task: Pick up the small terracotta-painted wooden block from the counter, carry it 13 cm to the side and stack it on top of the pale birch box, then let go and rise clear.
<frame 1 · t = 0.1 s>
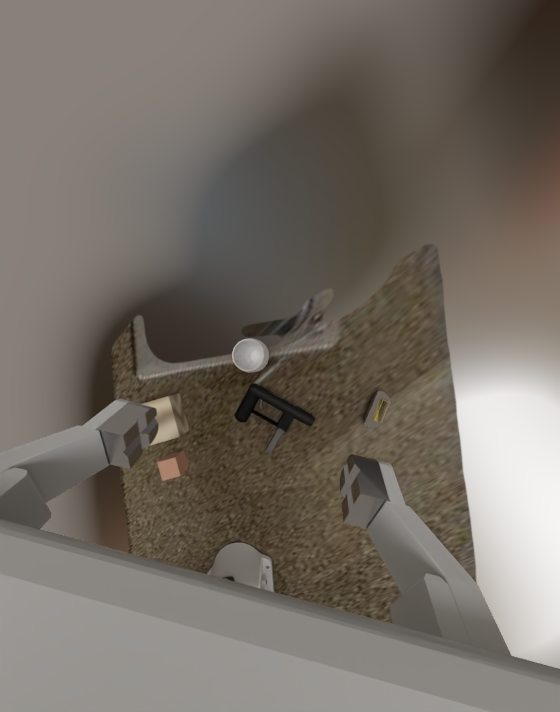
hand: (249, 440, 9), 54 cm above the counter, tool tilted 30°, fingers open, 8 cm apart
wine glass: (261, 356, 64), on the counter
black clamp: (271, 419, 64), on the counter
terracotta block: (178, 460, 64), on the counter
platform: (371, 406, 63), on the counter
birch box: (166, 416, 65), on the counter
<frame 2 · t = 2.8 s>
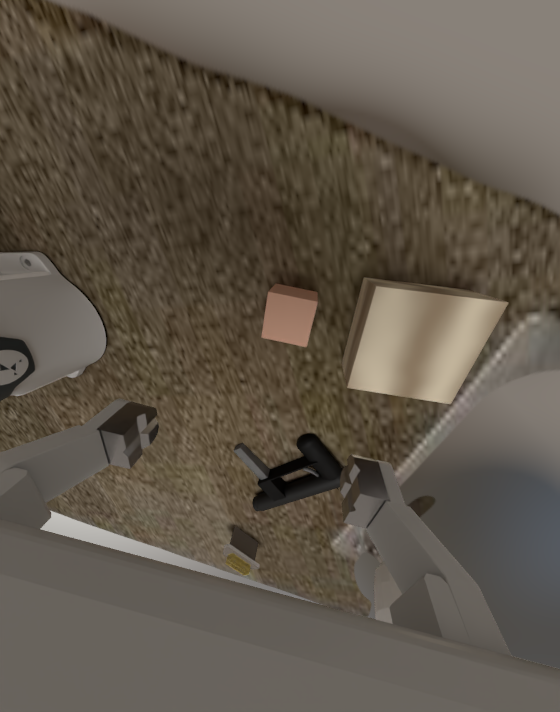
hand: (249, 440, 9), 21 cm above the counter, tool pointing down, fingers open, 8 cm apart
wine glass: (376, 495, 41), on the counter
black clamp: (281, 462, 42), on the counter
terracotta block: (292, 308, 28), on the counter
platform: (245, 532, 55), on the counter
birch box: (397, 329, 27), on the counter
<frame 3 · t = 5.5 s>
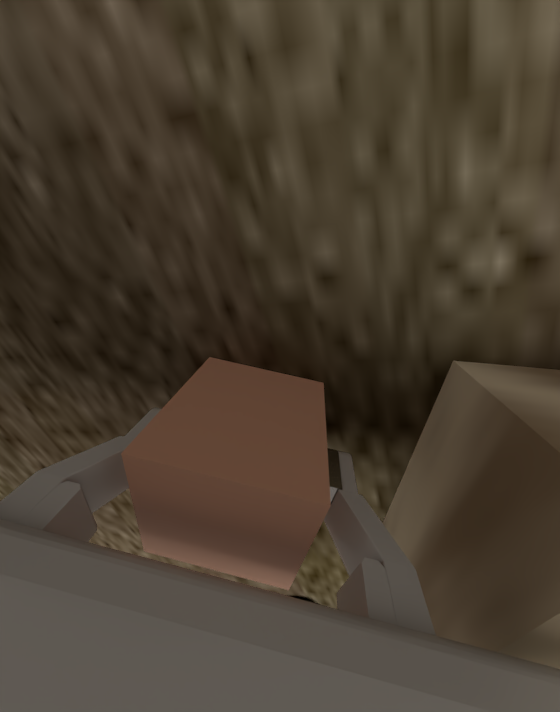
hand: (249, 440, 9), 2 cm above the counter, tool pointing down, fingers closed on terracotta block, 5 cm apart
terracotta block: (258, 413, 11), on the counter, touching gripper
birch box: (532, 473, 10), on the counter
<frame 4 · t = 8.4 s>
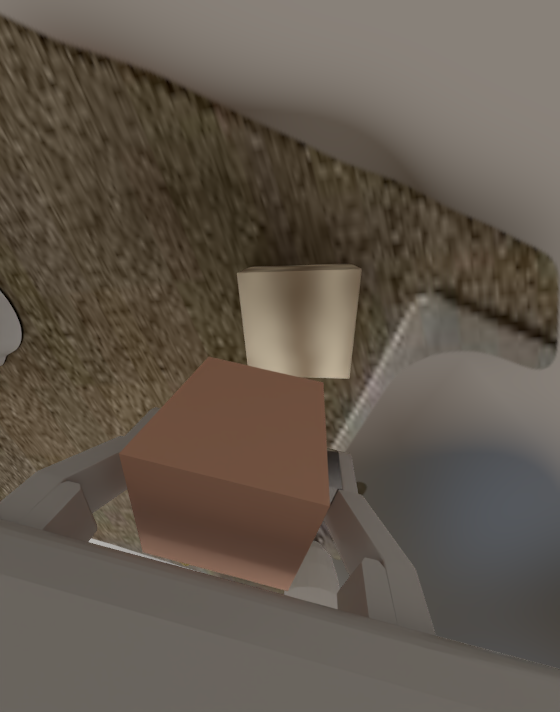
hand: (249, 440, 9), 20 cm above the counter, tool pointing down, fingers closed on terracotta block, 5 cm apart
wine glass: (311, 483, 42), on the counter
terracotta block: (257, 413, 11), point 19 cm above the counter, touching gripper
birch box: (299, 313, 28), on the counter
when the fingers open (9 cm above the counter, at t = 11.4 s): terracotta block drops 1 cm, point 6 cm above the counter.
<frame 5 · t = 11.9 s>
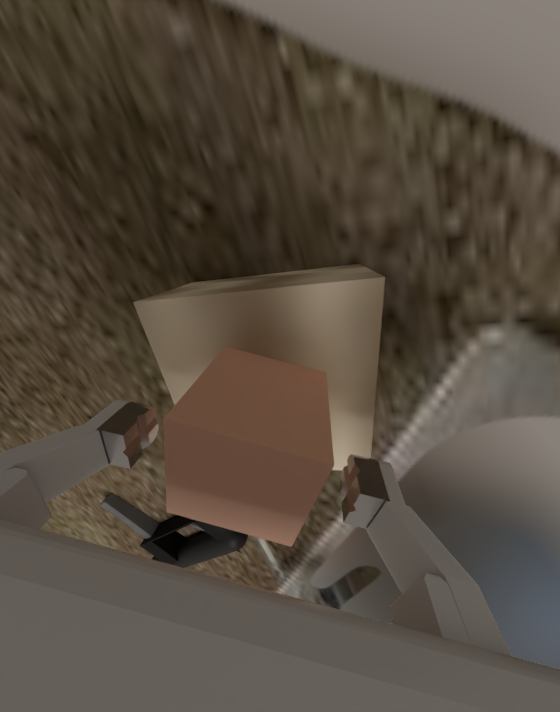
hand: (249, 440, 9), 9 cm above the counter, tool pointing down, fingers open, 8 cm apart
black clamp: (172, 513, 32), on the counter
terracotta block: (265, 399, 12), point 6 cm above the counter
birch box: (280, 349, 17), on the counter
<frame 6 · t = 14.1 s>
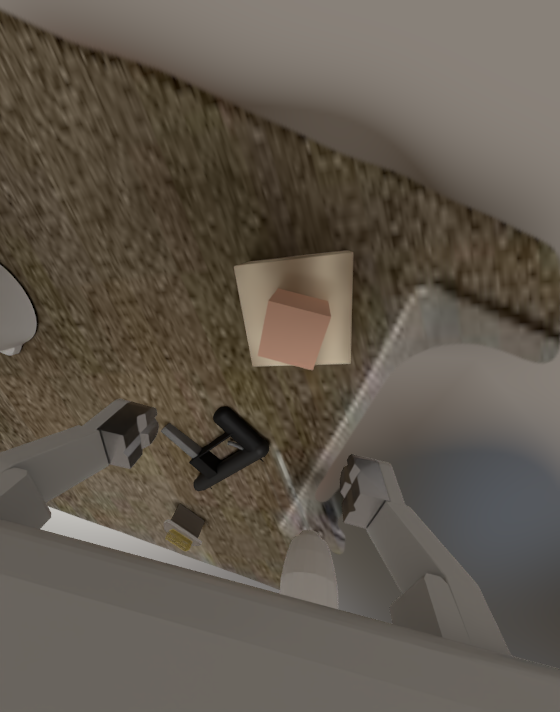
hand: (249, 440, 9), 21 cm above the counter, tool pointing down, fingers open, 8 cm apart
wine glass: (311, 475, 42), on the counter
black clamp: (211, 440, 43), on the counter
terracotta block: (296, 318, 23), point 6 cm above the counter, touching birch box
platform: (191, 510, 55), on the counter
birch box: (299, 303, 28), on the counter, touching terracotta block
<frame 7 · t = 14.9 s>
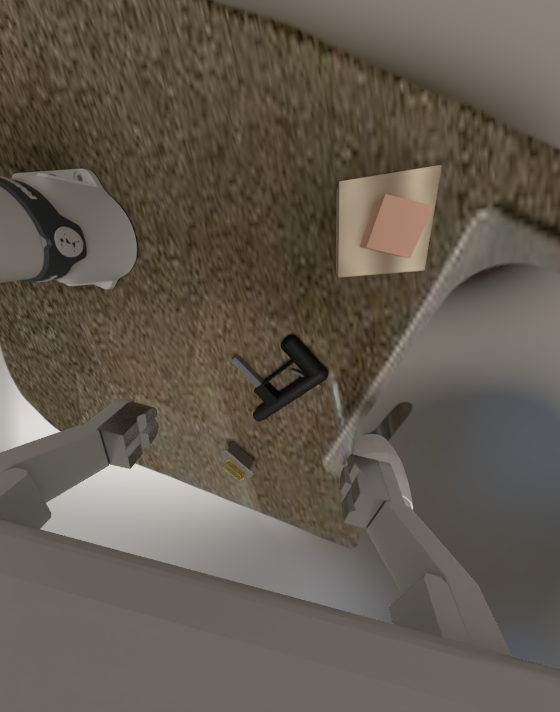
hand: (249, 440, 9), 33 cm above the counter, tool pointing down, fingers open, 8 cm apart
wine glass: (361, 404, 48), on the counter
black clamp: (272, 372, 48), on the counter
terracotta block: (386, 230, 28), point 6 cm above the counter
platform: (241, 449, 61), on the counter
birch box: (374, 230, 34), on the counter
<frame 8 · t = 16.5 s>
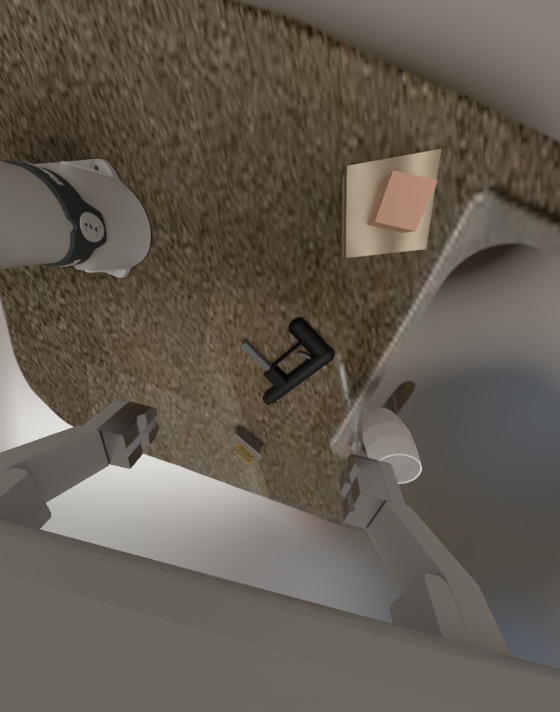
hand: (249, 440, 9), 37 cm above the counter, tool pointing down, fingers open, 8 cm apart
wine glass: (367, 385, 50), on the counter
black clamp: (280, 356, 50), on the counter
terracotta block: (391, 208, 30), point 6 cm above the counter, touching birch box
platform: (249, 434, 63), on the counter
birch box: (377, 214, 36), on the counter, touching terracotta block
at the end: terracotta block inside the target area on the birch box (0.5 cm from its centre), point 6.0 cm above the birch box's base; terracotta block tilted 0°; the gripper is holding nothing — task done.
